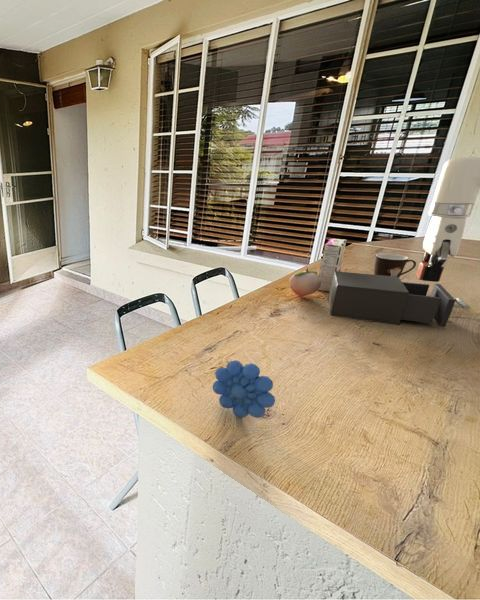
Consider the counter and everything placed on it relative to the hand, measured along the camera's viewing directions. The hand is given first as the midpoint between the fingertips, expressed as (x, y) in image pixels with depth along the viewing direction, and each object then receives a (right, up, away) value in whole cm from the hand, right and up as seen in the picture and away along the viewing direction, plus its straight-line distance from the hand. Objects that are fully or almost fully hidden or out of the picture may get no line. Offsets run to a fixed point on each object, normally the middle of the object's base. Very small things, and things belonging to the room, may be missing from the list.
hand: (427, 277), depth 95 cm
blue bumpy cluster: (-64, -28, -28) cm, 75 cm away
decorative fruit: (-19, -5, +23) cm, 30 cm away
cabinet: (-10, -9, +11) cm, 17 cm away
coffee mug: (+16, -1, +29) cm, 33 cm away
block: (0, 0, 0) cm, 0 cm away
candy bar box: (-6, -2, +30) cm, 31 cm away
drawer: (0, -10, +4) cm, 11 cm away
